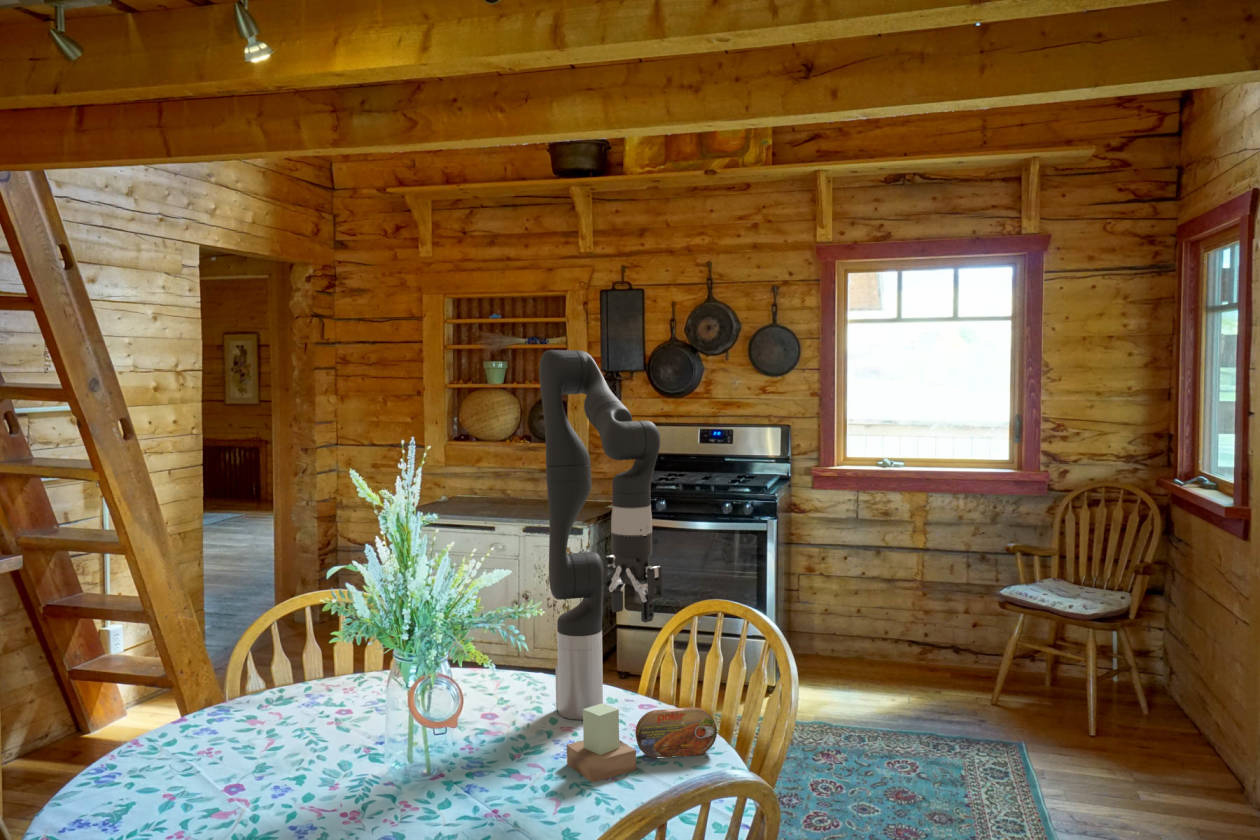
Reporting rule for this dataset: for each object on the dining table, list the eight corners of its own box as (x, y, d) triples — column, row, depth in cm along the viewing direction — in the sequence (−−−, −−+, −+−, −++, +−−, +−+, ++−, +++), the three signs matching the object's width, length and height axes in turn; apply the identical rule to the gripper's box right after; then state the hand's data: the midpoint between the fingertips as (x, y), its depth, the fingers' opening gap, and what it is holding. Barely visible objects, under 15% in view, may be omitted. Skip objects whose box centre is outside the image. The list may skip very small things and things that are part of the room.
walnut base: (567, 766, 171) (566, 744, 171) (609, 754, 176) (609, 733, 176) (592, 784, 163) (592, 762, 163) (636, 772, 168) (635, 750, 168)
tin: (637, 760, 173) (636, 715, 172) (634, 753, 176) (633, 708, 175) (717, 754, 175) (717, 709, 174) (713, 747, 178) (713, 703, 177)
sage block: (583, 747, 169) (583, 709, 169) (602, 741, 172) (602, 703, 172) (600, 755, 166) (599, 715, 166) (619, 748, 169) (618, 709, 169)
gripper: (591, 526, 177) (592, 612, 178) (641, 537, 166) (641, 628, 167) (622, 521, 182) (623, 605, 183) (673, 532, 171) (673, 620, 172)
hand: (632, 616), depth 175 cm, fingers open, 8 cm apart
